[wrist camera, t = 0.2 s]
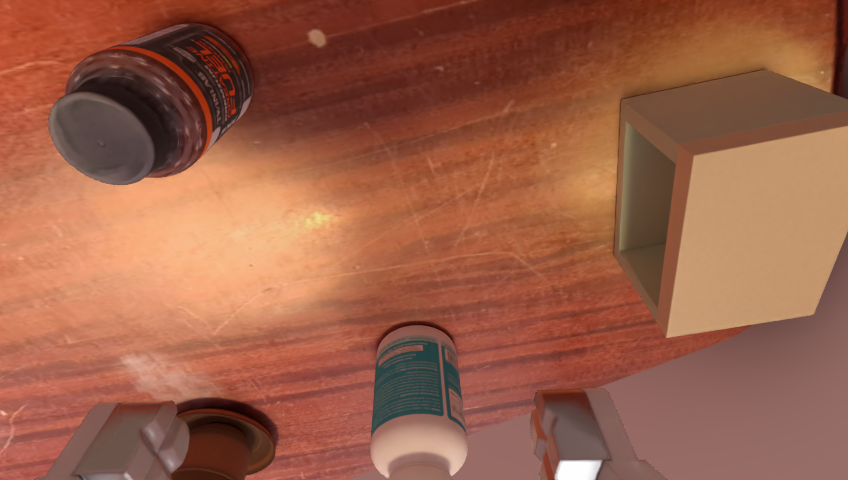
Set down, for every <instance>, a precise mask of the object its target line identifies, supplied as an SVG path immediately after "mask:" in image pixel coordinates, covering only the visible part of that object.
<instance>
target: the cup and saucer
mask: <svg viewBox="0 0 848 480" xmlns="http://www.w3.org/2000/svg"><path fill="white" fill-rule="evenodd" d="M176 416H177V417H179V418H180V419H182V420H184V421H185V422H186V424H187V426H188V428H189V434H190V440H189V446H188V451H187V454H186V456H185V459H184V461H183V464H182V465H181V466H179V467H178V468H177V469H176V470H175V471H174V472H173V473H172V474H171V477H172V480H244V479H245V476H246V475H250V474H254V473H257V472H259V471H261V470H263V469H265V468H266V467H267V466H269V465H270V464H271V462H272V461H273V459H274V457H275V442H274V440H273V438H272V436H271V435H270V433H269V432H268V431H267V430H266V429H265V428H264V427H263V426H262V425H261V424H259V423H258V422H257V421H255V420H253V419H251V418H249V417H247V416H245V415H242V414H240V413H237V412H233V411H229V410H223V409H211V408H208V409H195V410H190V411H187V412H183V413H181V414H178V415H176Z"/></svg>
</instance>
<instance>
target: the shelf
mask: <svg viewBox="0 0 848 480" xmlns="http://www.w3.org/2000/svg"><path fill="white" fill-rule="evenodd" d="M847 231H848V100H847V99H844V98H842V97H839V96H836V95H834V94H831V93H828V92H826V91H823V90H820V89H818V88H815V87H812V86H810V85H807V84H804V83H802V82H799V81H796V80H794V79H791V78H788V77H786V76H783V75H780V74H778V73H774V72H772V71H769V70H766V69H765V70H760V71H755V72H750V73H746V74H741V75H736V76H731V77H726V78H722V79H717V80H712V81H707V82H703V83H698V84H693V85H688V86H683V87H679V88H674V89H669V90H664V91H659V92H655V93H650V94H645V95H640V96H636V97H631V98H626V99H622V100H621V114H620V135H619V157H618V179H617V200H616V222H615V243H614V256H615V258H616V259H617V261H618V262H619V264H620V266H621V267H622V269H623V270H624V272H625V273H626V275H627V277H628V278H629V280H630V281H631V283H632V284H633V286H634V287H635V289H636V291H637V292H638V294H639V295H640V297H641V298H642V300H643V302H644V303H645V305H646V306H647V308H648V309H649V311H650V313H651V314H652V316H653V317H654V319H655V320H656V322H657V324H658V325H659V327H660V329H661V330H662V332H663V333H664V335H665V336H666V338H669V337H675V336H681V335H688V334H694V333H701V332H707V331H713V330H720V329H726V328H732V327H739V326H745V325H751V324H758V323H764V322H770V321H776V320H782V319H789V318H795V317H802V316H808V315H813V314H814V312H815V310H816V307H817V305H818V302H819V300H820V297H821V295H822V292H823V290H824V288H825V285H826V283H827V280H828V278H829V275H830V273H831V270H832V268H833V266H834V263H835V261H836V258H837V256H838V253H839V251H840V248H841V246H842V243H843V241H844V239H845V236H846V234H847Z"/></svg>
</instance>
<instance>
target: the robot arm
mask: <svg viewBox="0 0 848 480" xmlns="http://www.w3.org/2000/svg"><path fill="white" fill-rule="evenodd" d="M534 402H535V406H536V409H535V410H533V411H532V412H531V419H530V434H531V440H532V445H533V450H534V454H535V455H536V456H537V458H538V459H539V460H540V461H541V462H542V464H541V468H540V472H539V476H540V480H667V479H666V478H665V477H664V476H663V475H661V474H660V473H659V472H658V471H657V470H656V469H655V468H654V467H653V466H651V465H650V464H649V463H648V462H647V461H646V460H638V458H637V456H636V454H635V452H634V449H633V447H632V445H631V442H630V440H629V437H628V435H627V433H626V431H625V428H624V426H623V424H622V421H621V419H620V417H619V414H618V412H617V410H616V408H615V405H614V403H613V400H612V398H611V396H610V394H609V392H608V391H607V390H606V389H604V388H594V389H580V388H577V389H554V390H538V391H537V392H536V393H535V398H534ZM177 412H178V408H177V406H176V405H175V403H174V402H173V401H109V402H99V403H98V404H97V405H95V406H94V407H93V408H92V409H91V410H90V411H89V413H88V414H87V416H86V417H85V418H84V420H83V421H82V423H81V424H80V426H79V427H78V429H77V430H76V432H75V433H74V435H73V436H72V438H71V439H70V440H69V442H68V443H67V445H66V446H65V448H64V449H63V451H62V452H61V454H60V455H59V457H58V458H57V459H56V461H55V462H54V464H53V465H52V467H51V468H50V470H49V471H48V473H47V474H46V476H43V477H37V478H35V479H34V480H172V477H171V474H172V473H173V472H174V471H175V470H176V469H177V468H178V467H179V466H181V465H182V464H183V461H184V459H185V456H186V454H187V451H188V446H189V440H190V434H189V428H188V426H187V424H186V422H185V421H184V420H182V419H180V418H179V417H177V416H176V414H177Z"/></svg>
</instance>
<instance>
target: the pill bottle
mask: <svg viewBox="0 0 848 480" xmlns="http://www.w3.org/2000/svg"><path fill="white" fill-rule="evenodd" d="M370 451H371V458H372V461H373V463H374V465H375V467H376V468H377V469H378V471H379V472H380V473H381V474H383V475H384V476H385V477H387V478H388V480H452V477H451V476H452V475H453V474H455V473H456V472H457V471H458V470H459V469H460V468H461V466H462V465H463V463H464V461H465V459H466V455H467V437H466V428H465V420H464V412H463V404H462V396H461V387H460V379H459V370H458V363H457V356H456V349H455V346H454V344H453V342H452V340H451V339H450V338H449V337H448V336H447V335H446V334H445V333H443V332H442V331H440V330H438V329H436V328H433V327H429V326H423V325H412V326H406V327H402V328H399V329H397V330H394V331H393V332H391V333H389V334H388V335H387V336H386V337H385V338H384V339H383V340H382V341H381V343H380V345H379V347H378V350H377V357H376V371H375V387H374V402H373V416H372V431H371V448H370Z"/></svg>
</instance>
